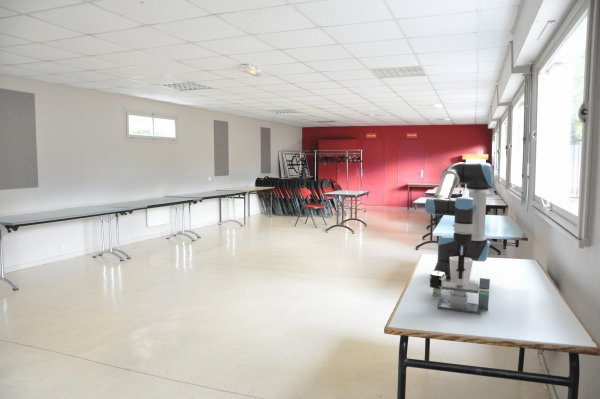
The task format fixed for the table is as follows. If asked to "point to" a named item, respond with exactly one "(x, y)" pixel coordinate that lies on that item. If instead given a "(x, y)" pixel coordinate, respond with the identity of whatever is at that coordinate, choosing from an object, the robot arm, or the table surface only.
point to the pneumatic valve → (437, 282)
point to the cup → (454, 266)
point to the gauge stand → (461, 301)
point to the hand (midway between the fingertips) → (459, 285)
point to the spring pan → (461, 288)
